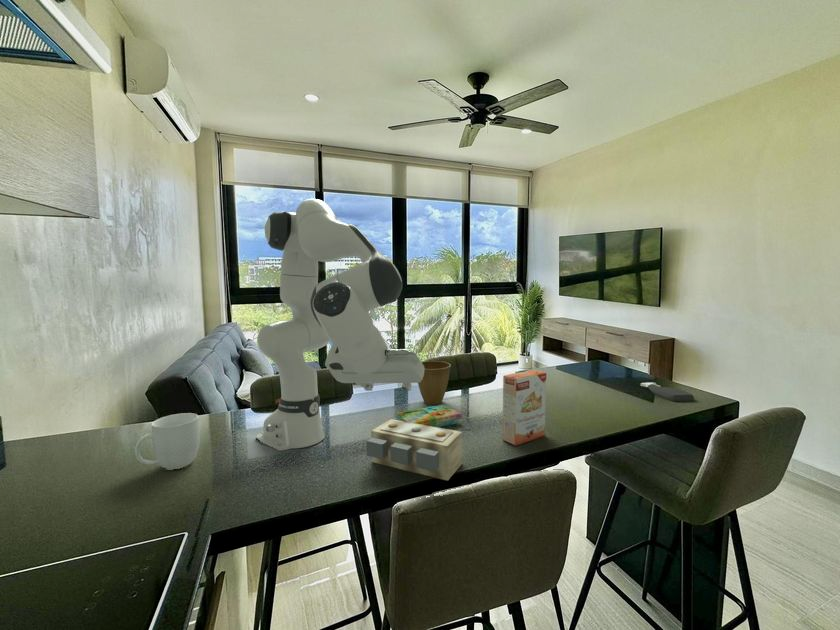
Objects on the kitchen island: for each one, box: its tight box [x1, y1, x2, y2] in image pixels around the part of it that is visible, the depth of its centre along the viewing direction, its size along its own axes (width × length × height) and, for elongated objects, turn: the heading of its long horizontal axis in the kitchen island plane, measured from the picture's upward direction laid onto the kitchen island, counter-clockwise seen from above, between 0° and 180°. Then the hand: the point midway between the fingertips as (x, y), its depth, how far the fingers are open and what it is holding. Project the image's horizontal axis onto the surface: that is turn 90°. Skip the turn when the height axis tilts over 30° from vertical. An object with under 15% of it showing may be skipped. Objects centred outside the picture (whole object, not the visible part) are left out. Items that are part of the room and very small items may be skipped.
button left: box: [366, 437, 388, 459], centre depth 100 cm, size 5×2×4 cm, turn 62°
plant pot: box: [417, 360, 452, 406], centre depth 157 cm, size 15×15×16 cm
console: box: [370, 418, 463, 482], centre depth 104 cm, size 23×10×10 cm, turn 62°
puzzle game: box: [395, 403, 463, 428], centre depth 134 cm, size 12×5×20 cm
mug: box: [134, 412, 201, 468], centre depth 104 cm, size 15×11×13 cm
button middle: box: [391, 443, 413, 465], centre depth 97 cm, size 5×2×4 cm, turn 62°
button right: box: [416, 448, 439, 472], centre depth 93 cm, size 5×2×4 cm, turn 62°
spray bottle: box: [640, 382, 695, 402], centre depth 166 cm, size 3×11×24 cm
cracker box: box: [501, 369, 547, 447], centre depth 119 cm, size 14×6×21 cm, turn 123°
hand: (388, 388), depth 86 cm, fingers open, 8 cm apart
